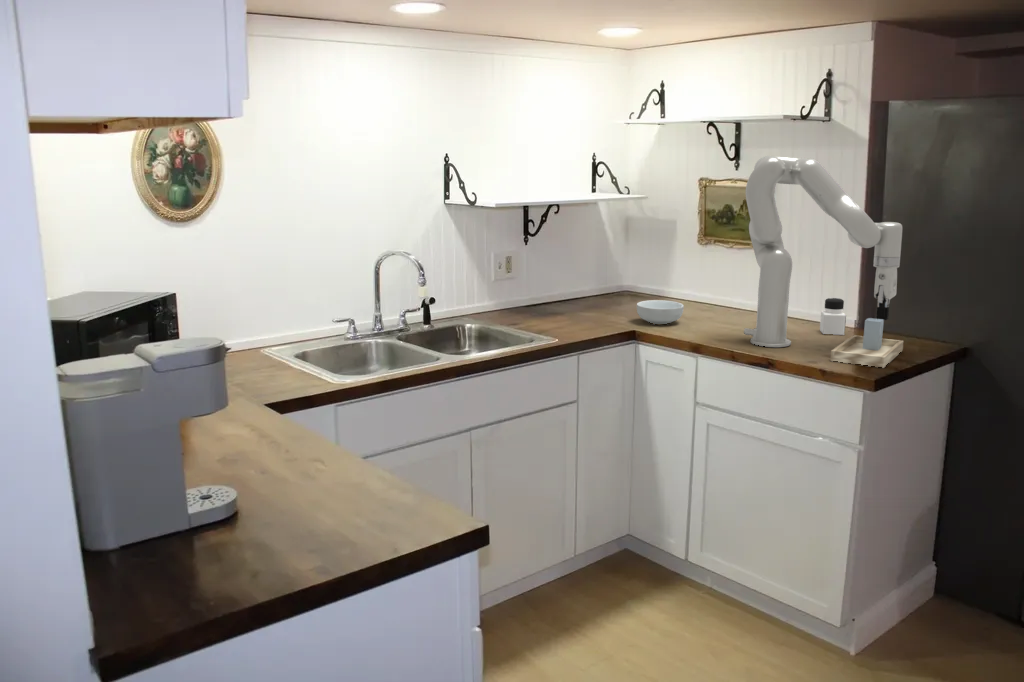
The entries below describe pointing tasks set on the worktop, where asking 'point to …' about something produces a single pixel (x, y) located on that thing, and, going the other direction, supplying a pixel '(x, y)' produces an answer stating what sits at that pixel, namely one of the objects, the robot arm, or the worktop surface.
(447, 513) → the worktop surface
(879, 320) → the block
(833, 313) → the medicine bottle
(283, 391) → the worktop surface
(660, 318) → the cereal bowl
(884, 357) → the tray
